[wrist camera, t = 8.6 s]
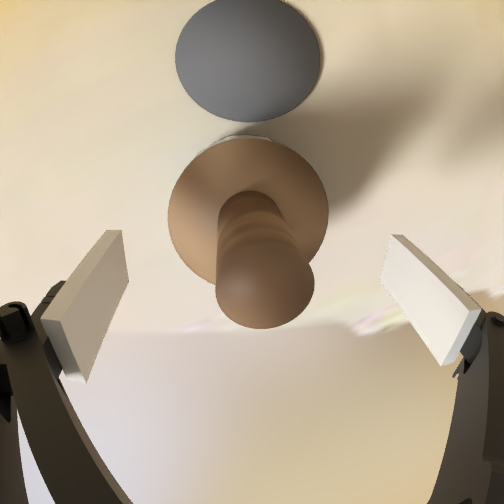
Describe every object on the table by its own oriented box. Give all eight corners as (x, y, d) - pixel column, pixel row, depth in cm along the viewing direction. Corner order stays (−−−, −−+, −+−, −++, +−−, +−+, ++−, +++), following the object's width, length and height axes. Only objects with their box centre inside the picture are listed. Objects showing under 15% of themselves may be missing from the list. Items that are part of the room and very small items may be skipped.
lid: (222, 107, 17) (221, 99, 9) (351, 192, 20) (424, 249, 12) (145, 240, 21) (104, 323, 12) (268, 302, 24) (289, 396, 15)
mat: (228, -25, 16) (228, -27, 16) (343, 44, 20) (344, 44, 19) (149, 80, 20) (148, 79, 20) (269, 148, 23) (270, 148, 23)
